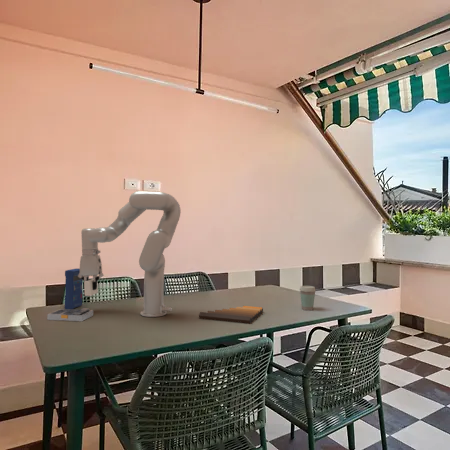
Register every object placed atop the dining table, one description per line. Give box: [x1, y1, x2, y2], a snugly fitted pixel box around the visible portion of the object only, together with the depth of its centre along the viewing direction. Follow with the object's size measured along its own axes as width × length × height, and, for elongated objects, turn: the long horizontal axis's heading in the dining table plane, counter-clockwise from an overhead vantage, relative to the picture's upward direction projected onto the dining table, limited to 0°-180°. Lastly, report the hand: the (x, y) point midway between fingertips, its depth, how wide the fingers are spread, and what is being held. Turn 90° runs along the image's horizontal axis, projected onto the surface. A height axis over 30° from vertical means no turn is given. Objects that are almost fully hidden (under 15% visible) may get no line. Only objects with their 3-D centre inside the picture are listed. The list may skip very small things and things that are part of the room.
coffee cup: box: [299, 285, 317, 311], centre depth 203 cm, size 9×8×12 cm
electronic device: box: [64, 268, 83, 309], centre depth 201 cm, size 10×5×20 cm, turn 168°
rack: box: [46, 307, 94, 322], centre depth 179 cm, size 17×11×4 cm
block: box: [83, 278, 99, 297], centre depth 190 cm, size 3×8×7 cm, turn 173°
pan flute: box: [198, 305, 264, 325], centre depth 187 cm, size 25×3×25 cm
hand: (91, 289), depth 190 cm, fingers closed on block, 2 cm apart
